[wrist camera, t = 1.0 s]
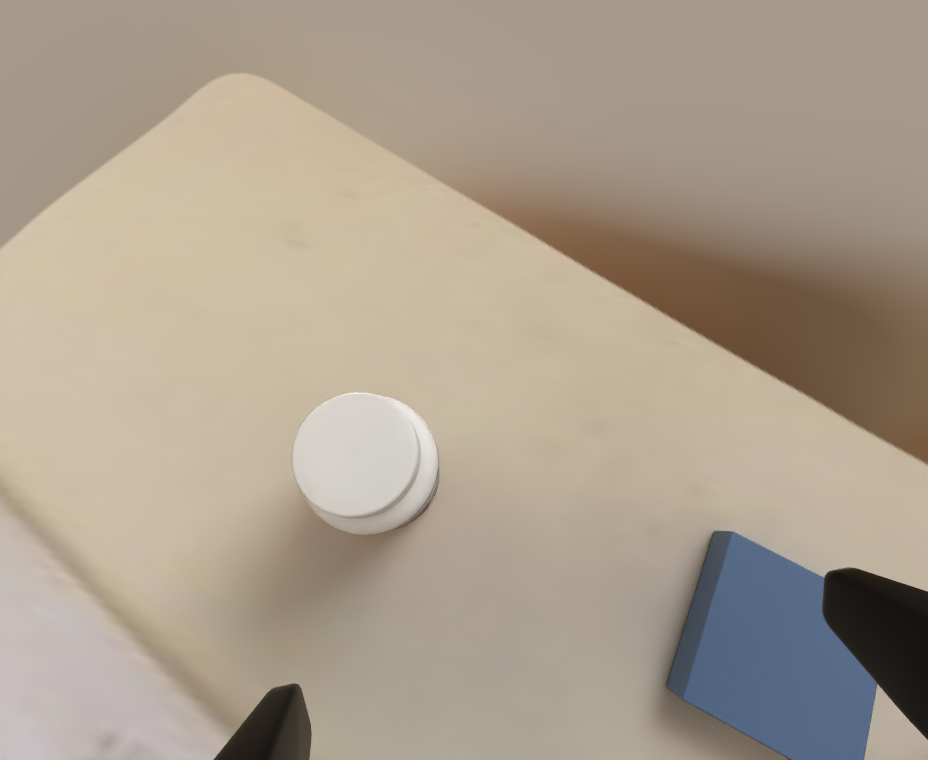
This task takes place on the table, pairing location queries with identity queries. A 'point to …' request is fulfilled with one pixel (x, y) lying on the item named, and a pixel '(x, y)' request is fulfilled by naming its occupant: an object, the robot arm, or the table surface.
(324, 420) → the pill bottle
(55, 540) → the table surface
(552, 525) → the table surface
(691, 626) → the sticky note pad
